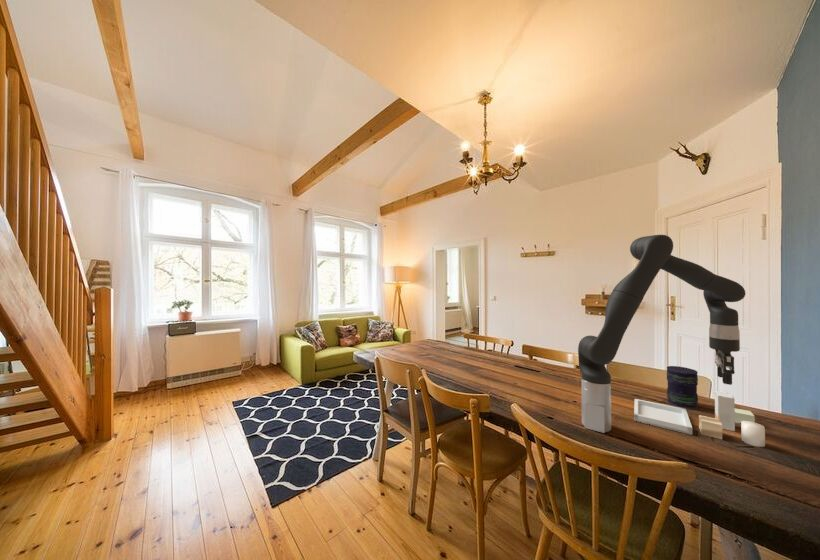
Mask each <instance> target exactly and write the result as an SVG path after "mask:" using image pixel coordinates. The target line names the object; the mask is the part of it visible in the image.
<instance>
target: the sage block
mask: <svg viewBox="0 0 820 560" xmlns="http://www.w3.org/2000/svg"><path fill="white" fill-rule="evenodd" d="M755 418H756V417H755V415H754V413H752V411H751V410H747V409H741V408H736V407H735V424H740V423H741V421H750V422H755V423H756V419H755Z"/></svg>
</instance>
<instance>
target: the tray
mask: <svg viewBox="0 0 820 560" xmlns="http://www.w3.org/2000/svg"><path fill="white" fill-rule="evenodd" d="M633 404H634V406H633V407H634V408H633V421H634V422H636V421H637V422H638V423H640V422H641V423H642V424H644V425H649V424H650V425H649V426H653V427H657V428H662V429H666V430H670V431H674V432H678V433H682V434H686V435H691V436H692V435H693V426H692V423H691V420H690V417H689V414H688V412H687V408H682V407H678V406H675V405H669V404H663V403H658V402H653V401H648V400H644V399H638V398H634V403H633Z"/></svg>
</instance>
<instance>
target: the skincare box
mask: <svg viewBox="0 0 820 560" xmlns="http://www.w3.org/2000/svg"><path fill="white" fill-rule="evenodd" d="M735 408H736V407H735V398H734V396H733V394H732V393H730V392H727V391H726V392H725V391H720V390H714V418H715V419H719V420H720V422H721V424H722V430H727V431H731V432H736V425H735V424H736V423H735Z"/></svg>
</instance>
